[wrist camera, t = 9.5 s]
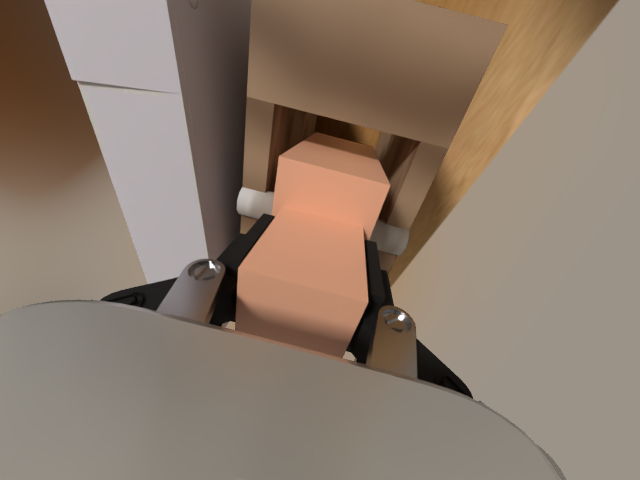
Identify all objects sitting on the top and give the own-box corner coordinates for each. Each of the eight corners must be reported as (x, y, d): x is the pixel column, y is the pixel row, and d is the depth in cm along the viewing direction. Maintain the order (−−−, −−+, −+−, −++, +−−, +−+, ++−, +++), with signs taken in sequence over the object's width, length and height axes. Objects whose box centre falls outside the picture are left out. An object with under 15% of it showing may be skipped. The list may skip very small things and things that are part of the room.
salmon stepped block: (316, 132, 20) (221, 192, 6) (372, 146, 20) (417, 243, 6) (299, 218, 24) (221, 376, 10) (345, 230, 24) (332, 404, 10)
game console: (247, 224, 37) (156, 324, 20) (235, -14, 24) (-87, -341, 6) (283, 230, 37) (220, 336, 20) (290, -8, 23) (109, -338, 6)
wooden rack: (315, 51, 25) (246, -52, 9) (413, 76, 25) (519, 18, 9) (286, 225, 36) (232, 319, 20) (354, 243, 36) (354, 351, 20)
